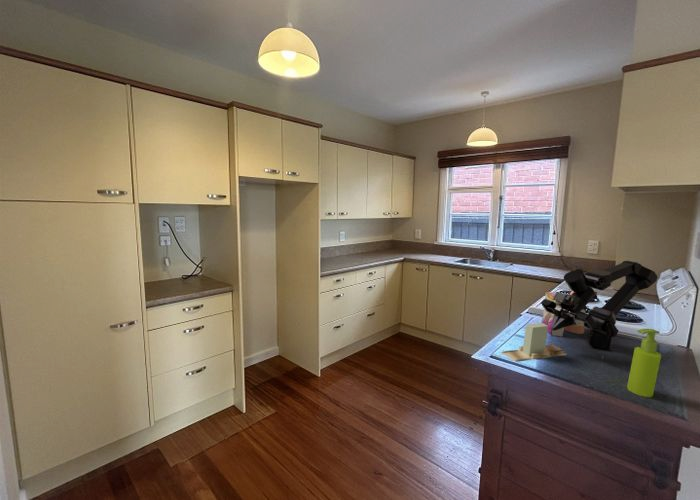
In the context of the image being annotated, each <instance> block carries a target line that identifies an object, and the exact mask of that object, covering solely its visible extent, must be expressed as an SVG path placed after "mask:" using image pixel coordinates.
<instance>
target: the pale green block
mask: <svg viewBox="0 0 700 500" xmlns="http://www.w3.org/2000/svg"><path fill="white" fill-rule="evenodd" d="M547 337H548V326H547V325H545V324H543V323H542V322H536V323H527V324H526V325H525V330H524V338H523V345H522V346H523V353H524V354H526V355H528V356H532V354H534V353H541V352H545V345H547Z"/></svg>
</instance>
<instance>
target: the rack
mask: <svg viewBox="0 0 700 500" xmlns="http://www.w3.org/2000/svg"><path fill="white" fill-rule="evenodd" d="M500 353H501V354H503V355H505V356H506V357H507V358H509V359H510V360H512V361H514V362H515V363H516V362H517V363H518V362H524V361H531V360H537V359H538V360H539V359H546V358H553V357H559V356H566V355H567V353H565V351H564V350H563V349H562V348H560V347H558V346H555V345H553V344H546V345H545V352H541V353H534V354H532V356H528V355H526V354H524V353H523V345H521V346H519V347H518V349H511V350H505V351H504V350H503V351H500Z"/></svg>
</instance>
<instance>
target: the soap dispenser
mask: <svg viewBox="0 0 700 500" xmlns="http://www.w3.org/2000/svg"><path fill="white" fill-rule="evenodd" d="M636 332H638V333H640V334H643V335H645V334H646V337H644V338H642V339H641V344H640V346H637V347H634V348H633V349H634V350H633V356H632V360H631V366H630V370H629V376H628V380H627V385H626V388H627V390H628V391H629V392H630V393H631V392H632V393H633V394H634V395H635V394H636V395H637V396H640V397H644V398H652V397H654V392H655V386H656V382H657V377H658V373H659V368H660V364H661V360H662V359H661V358H662V354H661V353H660V352H658V351H657V349H658V341H656V340H655V337H656V334H660V331H659V330H657V329H653V328H641V329H640V328H639V329H637V330H636Z"/></svg>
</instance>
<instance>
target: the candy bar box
mask: <svg viewBox="0 0 700 500" xmlns="http://www.w3.org/2000/svg"><path fill="white" fill-rule="evenodd" d="M556 293H557V292H552V291H551V292H550V291H545V297H544V299H548V300H551V301H553V302H555V304H556V305H557V306H559V307H561V306H560V305H559V304H558V303H559V302H558V301H556V300H553V299H554V297H555V295H556ZM554 315H555V314H552V313H549V312H547V311H546V310H545V308H544V307H543V313H542V319H541V323H543V324H545V325H547V326H548V331H547V334H549V335H550V336H553V337H562V338H563V337H564V332H565V331H564V330H565V329H564V327H563V328H561V329H558V330H555V331H553V330H552V329H551V327H552V323H553V320H554Z"/></svg>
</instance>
